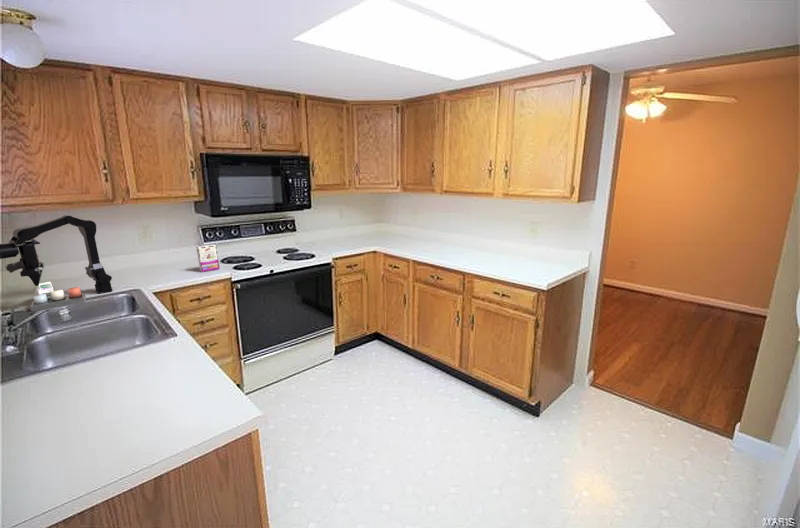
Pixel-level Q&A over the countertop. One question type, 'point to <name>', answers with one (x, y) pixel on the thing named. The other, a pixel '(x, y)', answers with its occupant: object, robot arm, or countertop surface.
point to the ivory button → (57, 295)
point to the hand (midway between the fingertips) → (37, 285)
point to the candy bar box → (208, 258)
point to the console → (58, 302)
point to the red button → (74, 292)
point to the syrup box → (44, 289)
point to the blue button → (40, 299)
